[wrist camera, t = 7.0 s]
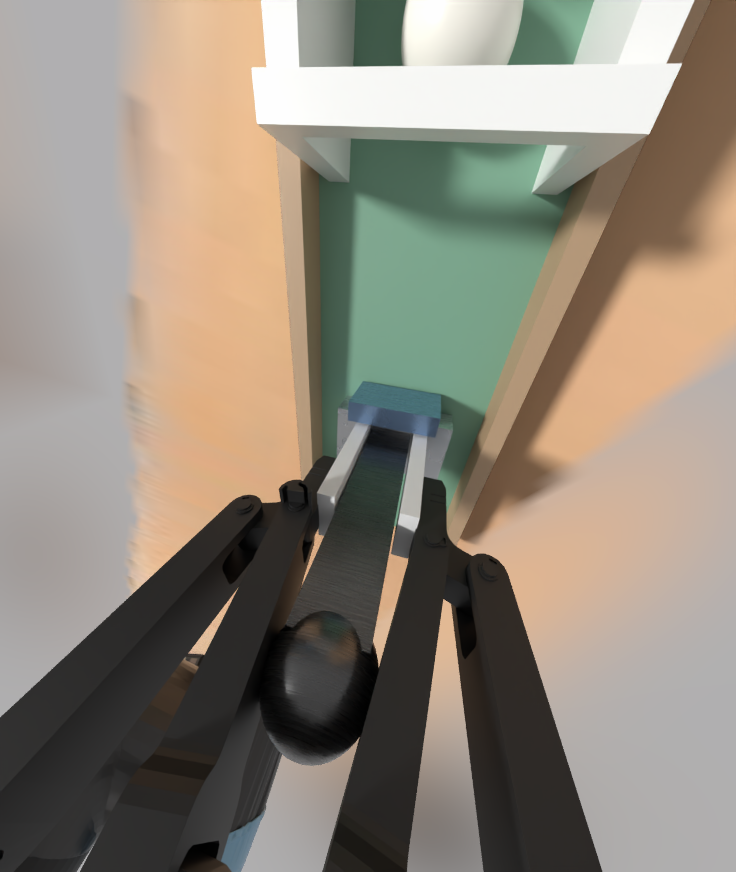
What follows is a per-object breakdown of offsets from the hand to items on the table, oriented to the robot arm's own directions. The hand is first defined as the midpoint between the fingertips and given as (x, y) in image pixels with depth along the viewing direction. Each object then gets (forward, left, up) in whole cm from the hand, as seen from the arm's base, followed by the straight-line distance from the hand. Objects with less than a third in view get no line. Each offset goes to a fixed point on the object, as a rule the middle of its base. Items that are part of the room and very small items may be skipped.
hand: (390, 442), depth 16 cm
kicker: (0, 0, -2) cm, 2 cm away
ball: (+15, 0, -1) cm, 15 cm away
